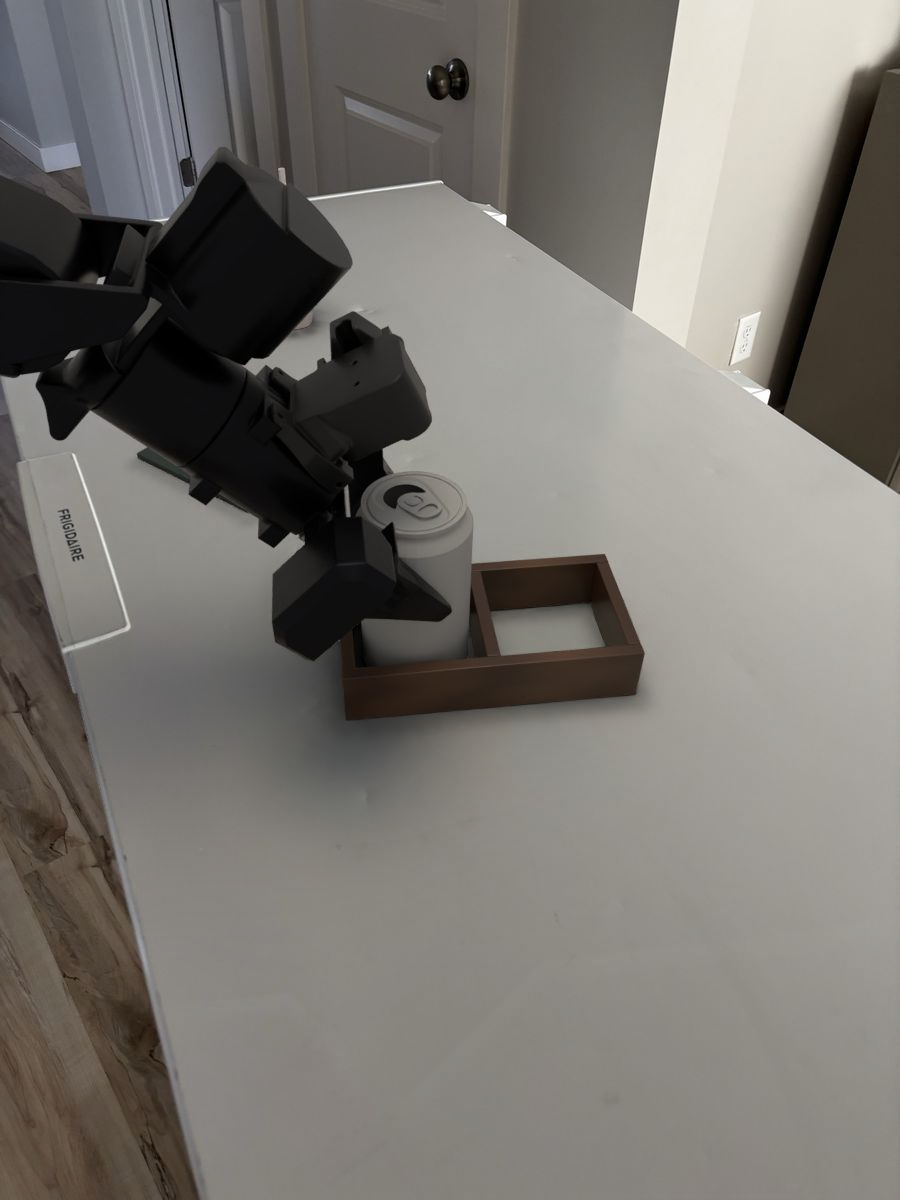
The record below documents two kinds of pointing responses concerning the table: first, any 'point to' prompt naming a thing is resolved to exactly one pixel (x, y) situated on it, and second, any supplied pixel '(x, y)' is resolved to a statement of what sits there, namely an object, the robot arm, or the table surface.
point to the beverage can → (423, 564)
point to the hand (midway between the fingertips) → (438, 575)
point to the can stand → (509, 675)
